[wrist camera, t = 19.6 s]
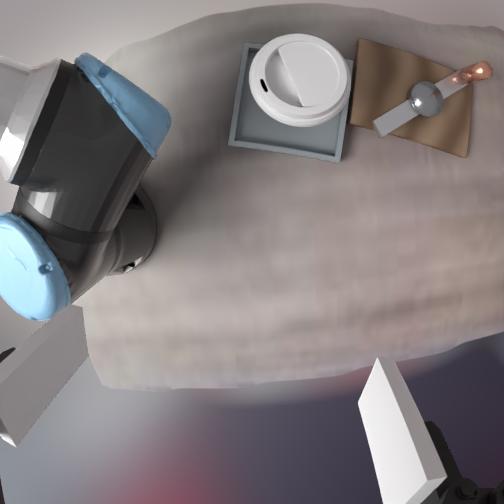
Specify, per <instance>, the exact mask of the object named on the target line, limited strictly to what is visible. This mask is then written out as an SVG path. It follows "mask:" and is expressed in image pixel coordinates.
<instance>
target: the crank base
mask: <svg viewBox="0 0 504 504" xmlns="http://www.w3.org/2000/svg"><path fill="white" fill-rule="evenodd" d="M454 72H456V71H453V70H451V69H449V68H447V67H444V66H442V65H439V64H437V63H434V62H432V61H429V60H427V59H424V58H422V57H419V56H416V55H413V54H411V53H408V52H405V51H402V50H399V49H396V48H393V47H390V46H386V45H383V44H380V43H376V42H373V41H369V40H366V39H362V38H359V40H358V41H357V50H356V60H355V70H354V79H353V87H352V96H351V103H350V111H349V118H348V124H350V125H354V126H358V127H363V128H367V129H371V130H375V129H374V127H373V125H372V124H371V121H373V120H375V119H376V118H378V117H379V116H381V115H383V114H384V113H386V112H388V111H389V110H391V109H393V108H394V107H396V106H398V105H399V104H401V103H403V102H404V101H406V100H407V93H408V90H409V89H410V88H411V87H412V86H413V85H415V84H417V83H419V82H422V81H427V82H430V83H432V84H435V83H437V82H439V81H440V80H442V79H444V78H446V77H447V76H449V75H451V74H453V73H454ZM471 103H472V83H470V84H468V85H466V86H465V87H463V88H461V89H460V90H458V91H456V92H455V93H453V94H451V95H450V96H448V97H446V98H445V99H444V106H443V110H442V111H441V113H440V114H439V115H437V116H433V117H429V118H422V117H419V116H418V115H417V116H416V117H414V118H412V119H411V120H409V121H407V122H406V123H404V124H403V125H401V126H399V127H398V128H396V129H395V130H393V131H392V132H390V133H388V134H390V135H393V136H397V137H400V138H404V139H407V140H411V141H414V142H417V143H420V144H423V145H427V146H430V147H433V148H436V149H439V150H442V151H445V152H448V153H450V154H453V155H456V156H459V157H463V158H466V155H467V147H468V138H469V129H470V118H471ZM375 131H376V130H375Z"/></svg>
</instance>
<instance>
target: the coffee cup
mask: <svg viewBox="0 0 504 504" xmlns="http://www.w3.org/2000/svg"><path fill="white" fill-rule="evenodd" d="M249 84H250V89H251V92H252V95H253V97H254V99H255V101H256V102H257V104H258V105H259V106H260V108H261V109H262V110H263V111H264V112H265V113H267V114H268V115H269V116H270V117H272V118H273V119H275V120H277V121H279V122H281V123H284V124H287V125H291V126H297V127H310V126H316V125H319V124H322V123H325V122H327V121H329V120H331V119H332V118H334V117H335V116H336V115H337V114H338V113H339V112H340V111H341V110H342V109H343V107H344V106H345V104H346V103H347V101H348V98H349V95H350V91H351V76H350V71H349V68H348V65H347V63H346V61H345V59H344V58H343V56H342V55H341V54H340V52H339V51H338V50H337V49H336V48H335V47H334V46H332V45H331V44H330V43H328V42H327V41H325V40H323V39H321V38H319V37H316V36H313V35H309V34H301V33H294V34H287V35H283V36H279V37H277V38H275V39H273V40H271V41H269V42H268V43H267V44H265V45H264V46H263V47H262V48H261V49H260V50H259V51H258V53H257V54H256V56H255V57H254V59H253V61H252V64H251V67H250V71H249Z"/></svg>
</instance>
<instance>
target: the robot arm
mask: <svg viewBox="0 0 504 504" xmlns="http://www.w3.org/2000/svg"><path fill="white" fill-rule="evenodd" d="M74 62H75V64H71V63H69V62H66V61H64V60H62V59H59V58H55V59H53V60H50V61H48V62H46V63H43V64H41V65H39V66H34V67H33V66H29V65H26V64H24V63H21V62H18V61H16V60H13V59H10V58H7V57H4V56H1V55H0V170H1V173H2V175H3V177H4V179H5V181H6V182H8V183H11V184H15V185H19V190H18V192H17V196H16V199H15V202H14V205H13V208H12V211H11V212H8V213H2V214H0V295H1V296H2V297H3V299H4V300H5V301H6V302H7V303H8V304H9V305H10V306H11V307H12V308H13V309H14V310H15V311H16V312H18V313H19V314H20V315H22V316H24V317H26V318H28V319H31V320H35V321H37V320H40V321H46V320H48V319H50V320H49V321H48V322H47V323H45V324H44V325H43V326H42V327H41V328H39V329H38V330H37V331H36V332H35V333H34V334H33V335H31V336H30V337H29V338H28V339H27V340H26V341H24V342H23V343H22V344H21V345H20V346H19V347H18V348H17V349H15V348H11V349H9V350H6V351H4V352H2V353H1V354H0V435H1V437H2V439H4V440H5V441H7V442H9V443H10V444H12V445H13V446H15V447H17V446H18V445H19V443H20V442H21V440H22V439H23V438H24V437H25V435H26V434H27V433H28V431H29V430H30V429H31V427H32V426H33V425H34V423H35V422H36V421H37V420H38V418H39V417H40V416H41V414H42V413H43V412H44V411H45V409H46V408H47V406H48V405H49V404H50V403H51V402H52V400H53V399H54V398H55V397H56V395H57V394H58V393H59V392H60V390H61V389H62V388H63V386H64V385H65V384H66V383H67V382H68V380H69V379H70V378H71V377H72V376H73V374H74V373H75V372H76V371H77V370H78V368H79V367H80V366H81V365H82V363H83V362H84V361H85V360H86V359H87V357H88V356H89V355H88V348H87V341H86V334H85V327H84V318H83V309H82V307H79V306H75V305H72V303H73V302H74V301H75V300H77V299H78V298H79V297H80V296H81V295H83V294H84V293H85V292H86V291H87V290H89V289H90V288H91V287H92V286H94V285H95V284H96V283H97V282H99V281H100V280H101V279H102V278H104V277H105V276H111V275H120V274H124V273H127V272H129V271H131V270H133V269H134V268H136V267H137V266H138V265H139V264H141V263H142V262H143V261H144V260H145V259H146V258H147V257H148V255H149V254H150V252H151V250H152V248H153V246H154V243H155V239H156V234H157V221H156V215H155V211H154V208H153V205H152V203H151V201H150V199H149V197H148V196H147V194H146V193H145V192H144V191H143V189H142V188H141V187H140V186H139V185H138V184H139V182H140V181H141V179H142V177H143V175H144V174H145V172H146V170H147V168H148V167H149V165H150V163H151V161H152V160H153V159H154V160H155V158H156V157H157V150H158V149H159V147H160V145H161V143H162V141H163V140H164V138H165V136H166V134H167V133H168V131H169V128H170V125H171V117H170V114H169V112H168V110H167V109H166V108H165V107H164V106H163V105H162V104H160V103H159V102H158V101H156V100H155V99H154V98H152V97H151V96H150V95H148V94H147V93H146V92H144V91H143V90H142V89H140V88H139V87H138V86H136V85H135V84H133V83H132V82H130V81H129V80H128V79H126V78H125V77H123V76H122V75H120V74H119V73H117V72H116V71H114V70H113V69H111V68H110V67H108V66H107V65H105V64H104V63H102V62H101V61H100V60H98V59H97V58H95V57H94V56H92V55H90V54H88V53H83V54H81V55H80V56H79V57H77V58H76V59H75V61H74ZM358 405H359V409H360V412H361V416H362V420H363V423H364V427H365V430H366V434H367V438H368V442H369V446H370V449H371V453H372V457H373V462H374V466H375V470H376V474H377V478H378V482H379V486H380V491H381V495H382V500H383V504H504V481H502V482H500V483H499V484H498V485H497V486H496V487H495V488H478V486H477V485H476V483H475V482H473V481H472V480H470V479H468V478H462V476H461V474H460V471H459V469H458V467H457V465H456V463H455V460H454V458H453V456H452V454H451V452H450V449H448V445H447V443H446V441H445V439H444V436H443V434H442V432H441V430H440V429H439V428H438V427H437V426H436V425H435V424H434V423H433V422H432V421H427V422H424V421H423V419H422V417H421V415H420V413H419V411H418V409H417V406H416V404H415V402H414V400H413V398H412V396H411V394H410V392H409V390H408V388H407V385H406V384H405V381H404V379H403V378H402V375H401V373H400V372H399V370H398V367H397V366H396V363H395V361H394V360H393V358H386V357H377V359H376V362H375V364H374V367H373V369H372V372H371V374H370V376H369V379H368V381H367V383H366V386H365V388H364V390H363V393H362V395H361V397H360V399H359V401H358ZM0 504H5V502H4V497H3V491H2V486H1V480H0Z"/></svg>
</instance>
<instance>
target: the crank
mask: <svg viewBox="0 0 504 504" xmlns="http://www.w3.org/2000/svg"><path fill="white" fill-rule="evenodd" d="M492 76H493V69H492V67H491V65H490V64H489V63H488V62H486V61H482V62H479V63H476V64H474V65H471V66H469V67H466V68H463V69H461V70H458V71H456V72H454V73H453V74H451V75H449V76H447V77H446V78H444V79H442V80H440V81H439V82H437V83H435V84H432V83H430V82H427V81H422V82H419V83H417V84H415V85H413V86H412V87H411V88H410V89H409V90H408V93H407V100H406V101H404V102H403V103H401V104H399V105H398V106H396V107H394V108H393V109H391V110H389V111H388V112H386V113H384V114H383V115H381V116H379V117H378V118H376V119H375V120H373V121H371V124H372V125H373V127H374V129H375V130H376V132H377V133H378V135H379V137H384V136H385V135H387V134H388V133H390V132H392V131H393V130H395V129H396V128H398V127H399V126H401V125H403V124H404V123H406V122H407V121H409V120H411V119H412V118H414V117H416V116H417V115H418V116H419V117H422V118H429V117H433V116H437V115H439V114H440V113H441V111H442V110H443V106H444V99H445V98H446V97H448V96H450V95H451V94H453V93H455V92H456V91H458V90H460V89H461V88H463V87H465V86H466V85H468V84H470V83H474V82H477V81H480V80H484V79H487V78H491V77H492Z"/></svg>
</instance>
